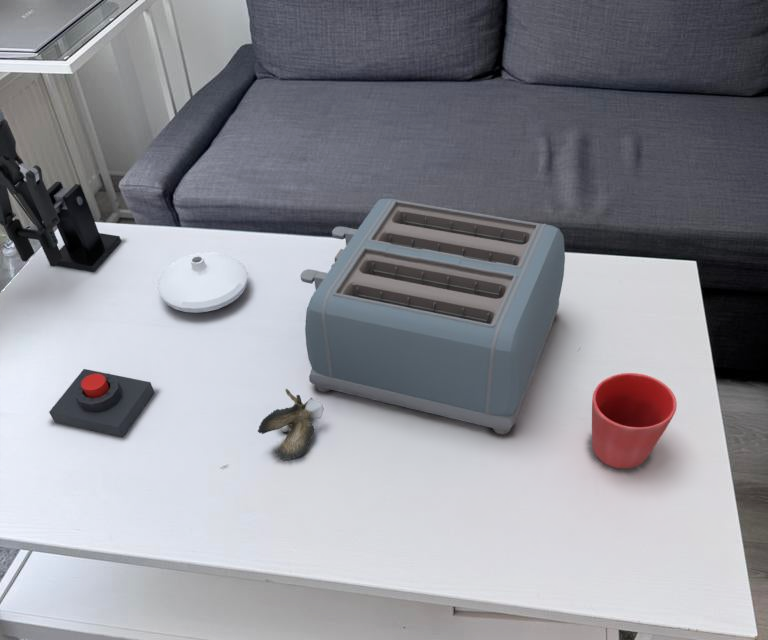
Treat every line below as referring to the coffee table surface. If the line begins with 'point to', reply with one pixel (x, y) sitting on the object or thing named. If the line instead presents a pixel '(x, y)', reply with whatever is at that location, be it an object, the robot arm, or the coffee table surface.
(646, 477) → the coffee table surface
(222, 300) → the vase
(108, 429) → the control block
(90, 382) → the button
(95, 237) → the bracket
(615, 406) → the flower pot
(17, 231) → the lever
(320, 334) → the toaster
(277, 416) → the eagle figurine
